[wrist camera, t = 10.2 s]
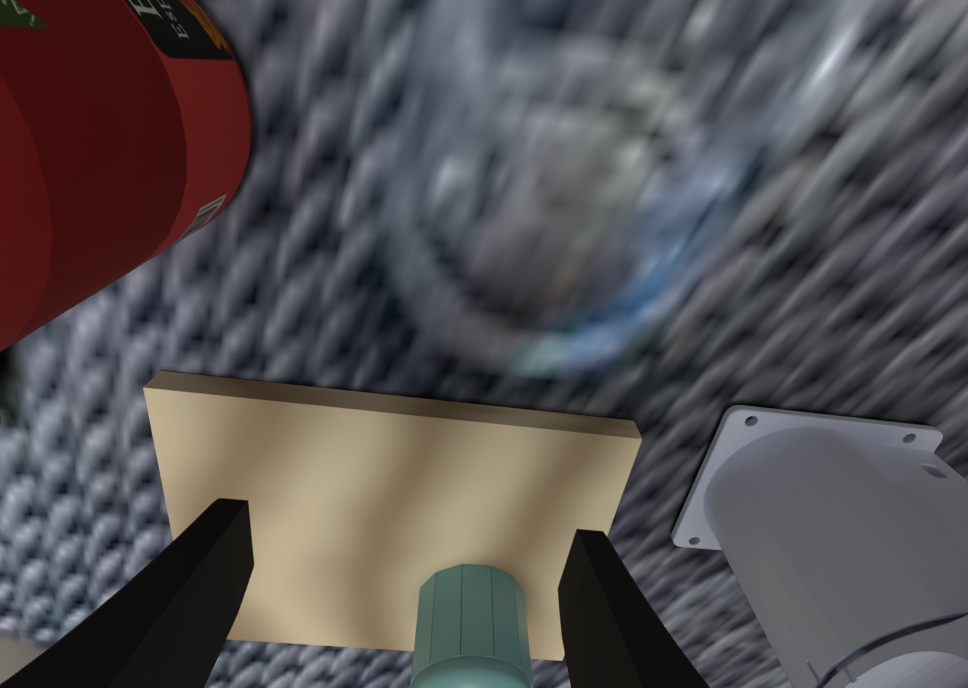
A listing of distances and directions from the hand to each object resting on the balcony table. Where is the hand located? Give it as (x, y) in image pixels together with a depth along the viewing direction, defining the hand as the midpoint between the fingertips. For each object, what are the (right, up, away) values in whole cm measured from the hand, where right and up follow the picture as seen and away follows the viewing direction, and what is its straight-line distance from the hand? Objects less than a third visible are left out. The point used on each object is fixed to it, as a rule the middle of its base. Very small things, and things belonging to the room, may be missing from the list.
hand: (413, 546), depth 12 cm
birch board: (-3, -4, +13) cm, 14 cm away
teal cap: (+1, -8, +14) cm, 16 cm away
